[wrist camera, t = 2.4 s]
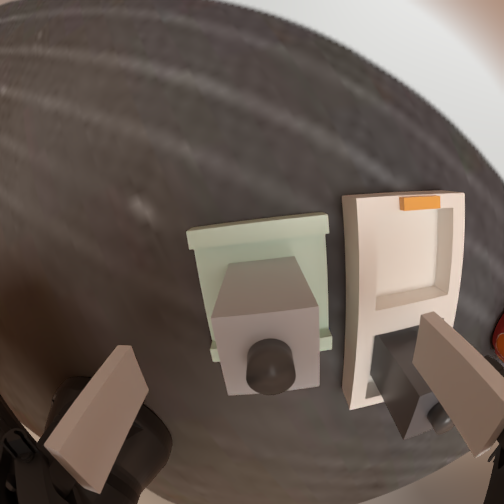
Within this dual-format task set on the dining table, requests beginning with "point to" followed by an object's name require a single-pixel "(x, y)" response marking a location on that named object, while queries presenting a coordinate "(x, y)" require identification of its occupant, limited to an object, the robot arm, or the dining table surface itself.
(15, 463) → the robot arm
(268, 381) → the plug
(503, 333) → the smoothie
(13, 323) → the dining table surface
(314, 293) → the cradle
